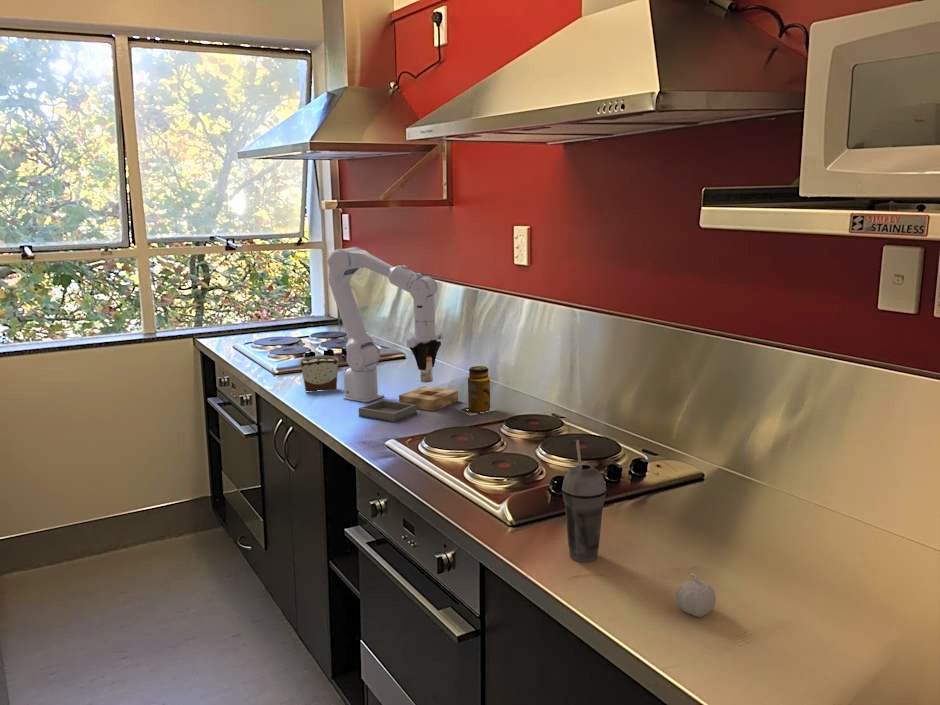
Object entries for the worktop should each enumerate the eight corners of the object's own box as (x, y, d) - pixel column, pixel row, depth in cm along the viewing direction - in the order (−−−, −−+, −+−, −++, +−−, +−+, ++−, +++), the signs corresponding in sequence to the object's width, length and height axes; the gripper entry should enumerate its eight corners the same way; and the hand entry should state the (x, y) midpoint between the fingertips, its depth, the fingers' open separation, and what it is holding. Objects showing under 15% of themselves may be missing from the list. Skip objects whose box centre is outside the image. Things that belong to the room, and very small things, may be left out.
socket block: (399, 405, 228) (398, 395, 227) (424, 396, 238) (423, 386, 237) (434, 411, 221) (433, 400, 221) (458, 401, 231) (457, 390, 231)
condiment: (496, 411, 220) (496, 368, 218) (471, 416, 216) (469, 372, 213) (481, 405, 226) (480, 363, 224) (456, 410, 222) (455, 368, 219)
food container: (338, 385, 254) (336, 354, 252) (341, 389, 248) (339, 357, 246) (298, 388, 250) (296, 357, 248) (301, 393, 244) (298, 361, 242)
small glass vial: (418, 381, 227) (417, 357, 226) (425, 379, 230) (424, 355, 229) (428, 383, 225) (427, 358, 224) (435, 380, 228) (434, 356, 227)
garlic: (676, 598, 118) (677, 566, 117) (715, 603, 116) (716, 570, 115) (674, 619, 112) (675, 585, 111) (715, 624, 111) (716, 590, 110)
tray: (358, 416, 218) (358, 408, 217) (382, 407, 226) (381, 399, 226) (394, 422, 211) (393, 413, 211) (416, 413, 220) (416, 405, 219)
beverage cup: (613, 562, 130) (615, 443, 126) (572, 569, 128) (572, 448, 124) (594, 544, 137) (595, 430, 133) (554, 550, 135) (554, 435, 131)
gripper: (421, 325, 216) (422, 374, 219) (451, 317, 228) (452, 364, 231) (400, 323, 220) (401, 372, 223) (430, 316, 232) (432, 362, 235)
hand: (426, 368), depth 227 cm, fingers closed on small glass vial, 3 cm apart
